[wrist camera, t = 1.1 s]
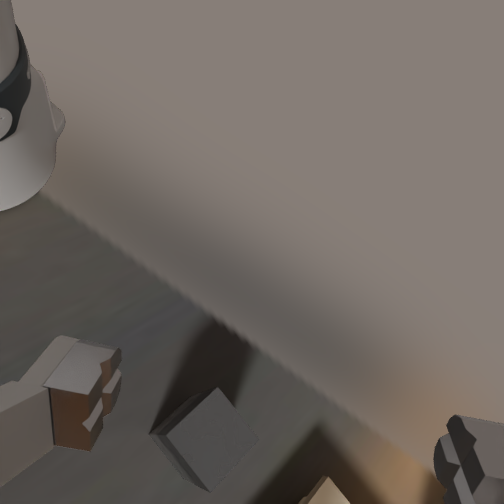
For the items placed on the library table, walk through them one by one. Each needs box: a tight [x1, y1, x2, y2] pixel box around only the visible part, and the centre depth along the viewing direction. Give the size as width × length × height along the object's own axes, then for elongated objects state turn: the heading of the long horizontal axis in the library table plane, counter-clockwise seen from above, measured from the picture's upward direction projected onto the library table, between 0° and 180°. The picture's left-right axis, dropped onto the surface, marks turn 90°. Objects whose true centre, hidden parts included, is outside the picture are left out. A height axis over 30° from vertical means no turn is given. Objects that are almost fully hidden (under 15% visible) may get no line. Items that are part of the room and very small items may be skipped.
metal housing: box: [149, 387, 259, 493], centre depth 35 cm, size 5×5×10 cm
